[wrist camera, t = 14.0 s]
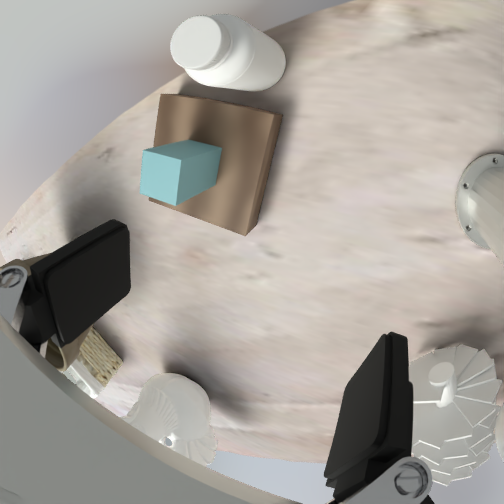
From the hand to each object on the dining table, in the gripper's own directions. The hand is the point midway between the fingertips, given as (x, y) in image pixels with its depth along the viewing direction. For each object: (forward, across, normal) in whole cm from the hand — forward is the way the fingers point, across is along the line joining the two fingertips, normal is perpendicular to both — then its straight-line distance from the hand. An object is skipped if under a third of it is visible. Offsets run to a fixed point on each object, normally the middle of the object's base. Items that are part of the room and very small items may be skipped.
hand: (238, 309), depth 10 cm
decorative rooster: (+31, +13, +63) cm, 71 cm away
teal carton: (+26, +16, +4) cm, 31 cm away
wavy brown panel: (+30, +16, +4) cm, 34 cm away
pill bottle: (+31, +13, -10) cm, 35 cm away
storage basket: (+31, +48, +71) cm, 91 cm away
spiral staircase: (+31, -34, +27) cm, 53 cm away
